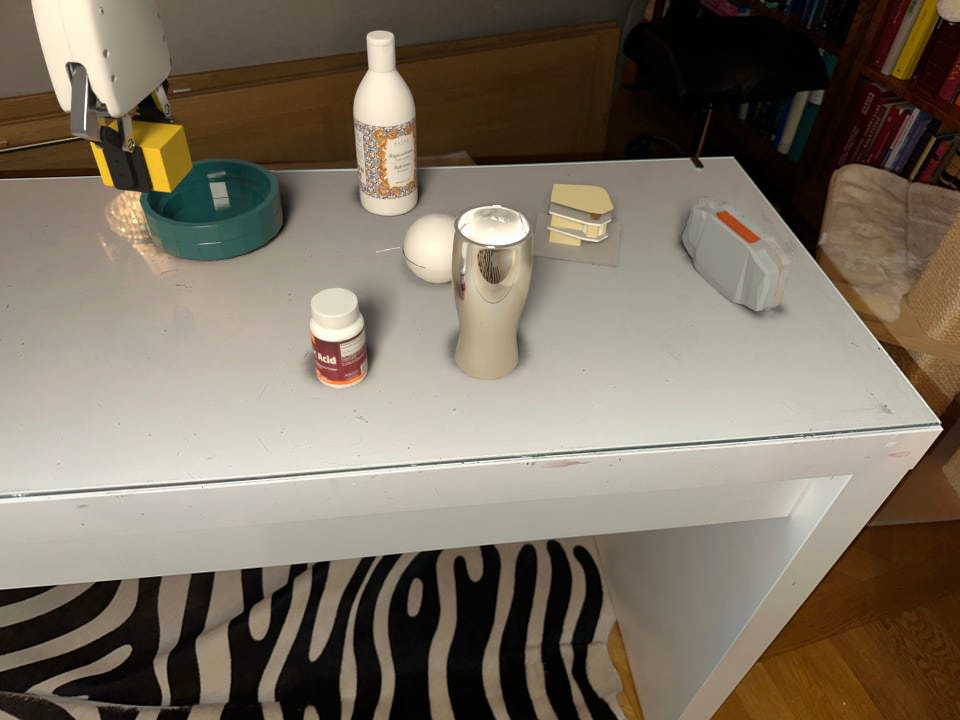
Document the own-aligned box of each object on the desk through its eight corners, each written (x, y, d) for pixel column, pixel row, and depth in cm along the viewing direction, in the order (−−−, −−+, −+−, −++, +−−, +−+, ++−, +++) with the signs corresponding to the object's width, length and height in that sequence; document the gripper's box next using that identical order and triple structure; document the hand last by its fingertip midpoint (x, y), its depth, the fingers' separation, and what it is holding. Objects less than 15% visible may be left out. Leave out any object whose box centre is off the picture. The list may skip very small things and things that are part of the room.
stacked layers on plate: (529, 255, 85) (533, 213, 81) (538, 213, 91) (542, 172, 87) (618, 267, 83) (626, 224, 80) (621, 224, 90) (629, 183, 86)
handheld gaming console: (776, 320, 78) (801, 256, 72) (754, 327, 77) (777, 262, 71) (693, 246, 87) (710, 184, 82) (672, 251, 86) (687, 189, 81)
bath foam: (379, 224, 88) (367, 52, 75) (350, 198, 92) (334, 30, 79) (428, 207, 91) (426, 39, 78) (398, 183, 95) (391, 19, 82)
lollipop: (472, 257, 84) (474, 200, 79) (471, 298, 78) (474, 239, 73) (382, 255, 84) (378, 197, 79) (376, 296, 78) (371, 236, 73)
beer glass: (537, 357, 72) (553, 224, 62) (489, 395, 68) (498, 259, 58) (483, 325, 75) (489, 193, 65) (434, 359, 71) (433, 224, 61)
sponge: (104, 185, 64) (89, 142, 61) (129, 160, 67) (116, 118, 65) (171, 193, 64) (159, 149, 61) (193, 167, 67) (183, 125, 64)
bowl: (128, 258, 82) (115, 219, 78) (183, 190, 92) (174, 153, 89) (259, 272, 81) (251, 232, 77) (299, 202, 91) (294, 164, 88)
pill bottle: (306, 371, 70) (294, 300, 64) (347, 348, 72) (339, 277, 66) (337, 398, 67) (328, 326, 62) (379, 373, 70) (373, 302, 64)
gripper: (92, -90, 60) (152, 127, 72) (-47, -28, 47) (54, 221, 60) (183, -83, 59) (227, 135, 71) (66, -18, 47) (144, 231, 59)
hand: (148, 172), depth 65 cm, fingers closed on sponge, 4 cm apart
